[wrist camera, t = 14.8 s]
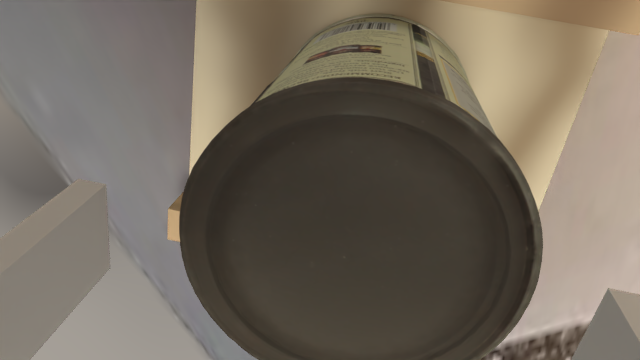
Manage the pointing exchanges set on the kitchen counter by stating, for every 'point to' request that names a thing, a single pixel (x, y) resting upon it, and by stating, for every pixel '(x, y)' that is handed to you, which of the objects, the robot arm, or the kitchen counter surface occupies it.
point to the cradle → (448, 23)
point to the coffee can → (363, 208)
